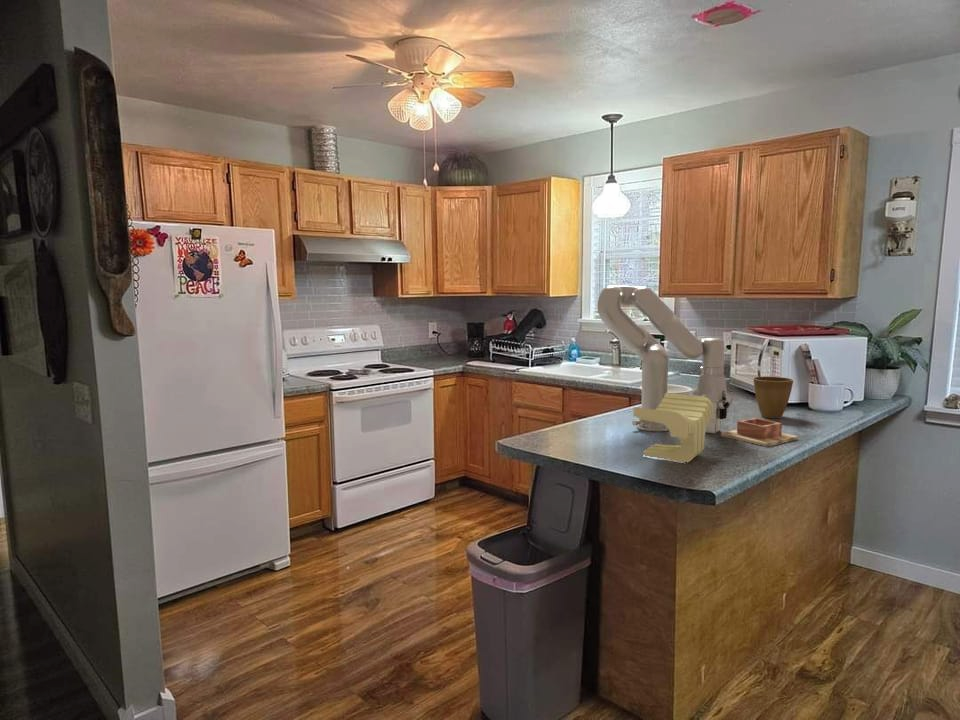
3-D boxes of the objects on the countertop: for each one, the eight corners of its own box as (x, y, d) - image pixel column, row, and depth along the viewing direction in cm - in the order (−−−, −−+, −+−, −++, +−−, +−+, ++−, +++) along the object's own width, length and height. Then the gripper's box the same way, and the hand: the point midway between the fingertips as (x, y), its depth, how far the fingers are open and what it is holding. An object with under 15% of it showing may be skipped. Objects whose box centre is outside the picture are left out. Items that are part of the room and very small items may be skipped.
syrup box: (705, 428, 232) (706, 391, 230) (720, 430, 228) (722, 392, 226) (699, 431, 227) (701, 393, 226) (715, 433, 224) (717, 395, 222)
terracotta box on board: (766, 446, 205) (767, 430, 204) (721, 436, 220) (721, 420, 219) (797, 439, 214) (798, 423, 213) (752, 429, 229) (752, 414, 229)
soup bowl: (628, 401, 288) (628, 387, 287) (657, 395, 303) (658, 382, 302) (673, 409, 269) (673, 394, 268) (702, 402, 285) (702, 388, 284)
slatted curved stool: (684, 472, 178) (686, 413, 176) (632, 464, 187) (633, 407, 185) (711, 449, 202) (713, 397, 200) (664, 443, 211) (665, 392, 209)
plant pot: (799, 417, 249) (801, 379, 247) (776, 422, 242) (778, 382, 240) (766, 411, 262) (768, 374, 260) (743, 415, 254) (745, 377, 253)
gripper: (687, 369, 230) (686, 414, 232) (726, 374, 216) (725, 421, 218) (700, 368, 234) (699, 411, 236) (739, 372, 219) (738, 419, 221)
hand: (711, 416), depth 227 cm, fingers open, 9 cm apart
